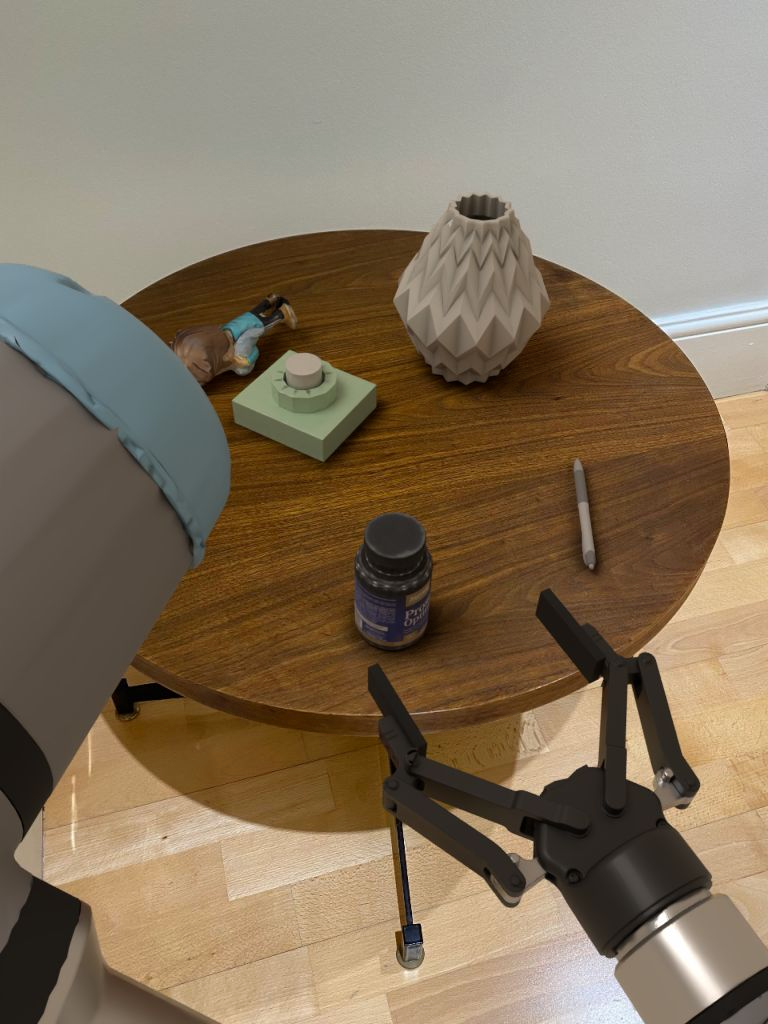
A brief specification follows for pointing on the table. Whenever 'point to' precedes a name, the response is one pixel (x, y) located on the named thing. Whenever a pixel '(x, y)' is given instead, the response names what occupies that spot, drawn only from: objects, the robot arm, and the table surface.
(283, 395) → the green base with collar
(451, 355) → the vase
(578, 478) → the pen
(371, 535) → the pill bottle
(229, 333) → the figurine
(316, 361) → the cylinder peg
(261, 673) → the table surface
